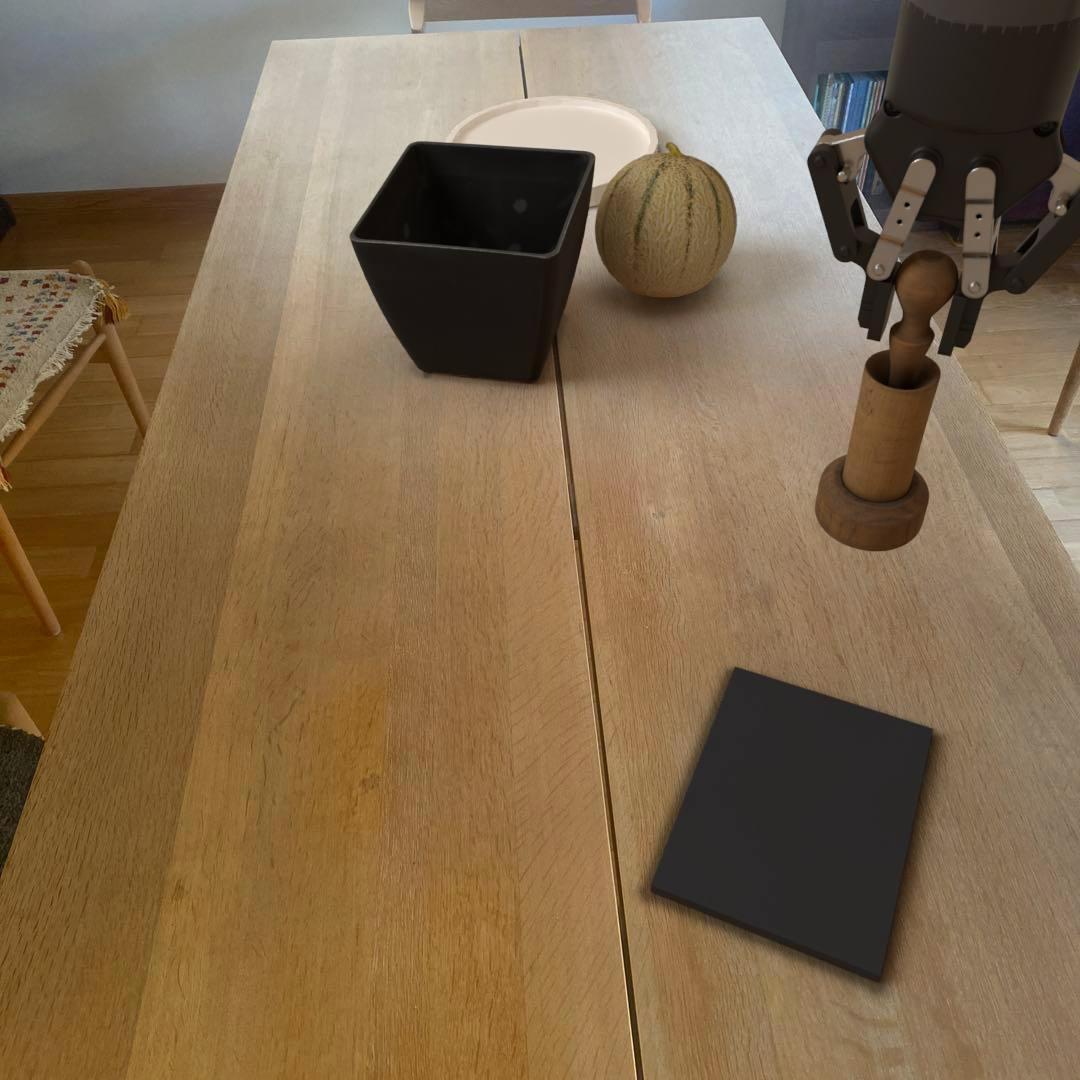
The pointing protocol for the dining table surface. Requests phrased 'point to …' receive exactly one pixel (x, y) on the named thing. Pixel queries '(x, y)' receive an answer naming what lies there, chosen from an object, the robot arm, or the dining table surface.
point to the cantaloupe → (665, 224)
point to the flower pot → (476, 253)
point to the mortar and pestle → (890, 421)
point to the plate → (565, 131)
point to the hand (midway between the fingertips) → (912, 338)
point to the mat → (799, 821)
